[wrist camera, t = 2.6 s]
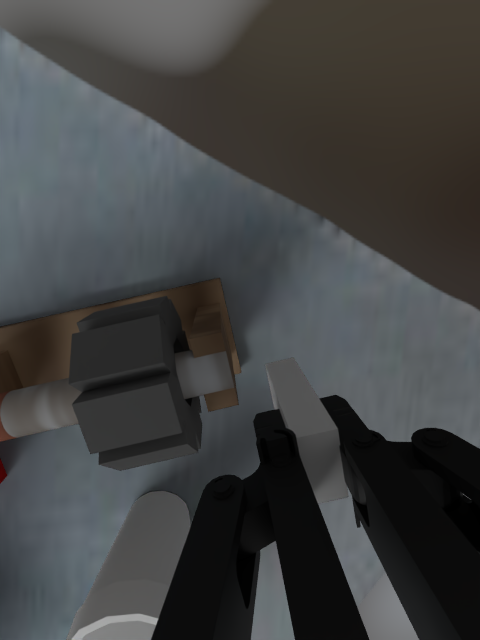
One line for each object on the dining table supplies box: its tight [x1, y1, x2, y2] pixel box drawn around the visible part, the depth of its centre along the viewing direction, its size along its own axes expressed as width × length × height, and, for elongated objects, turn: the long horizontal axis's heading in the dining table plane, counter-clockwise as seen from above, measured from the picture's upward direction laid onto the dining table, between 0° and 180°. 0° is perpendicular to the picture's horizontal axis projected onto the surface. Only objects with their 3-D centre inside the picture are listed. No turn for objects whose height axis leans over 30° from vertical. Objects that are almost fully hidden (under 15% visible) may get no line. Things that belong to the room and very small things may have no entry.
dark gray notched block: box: [69, 296, 202, 471], centre depth 22 cm, size 5×10×10 cm, turn 12°
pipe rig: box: [0, 278, 241, 442], centre depth 26 cm, size 22×9×12 cm, turn 102°
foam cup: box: [66, 491, 191, 640], centre depth 30 cm, size 10×9×13 cm
